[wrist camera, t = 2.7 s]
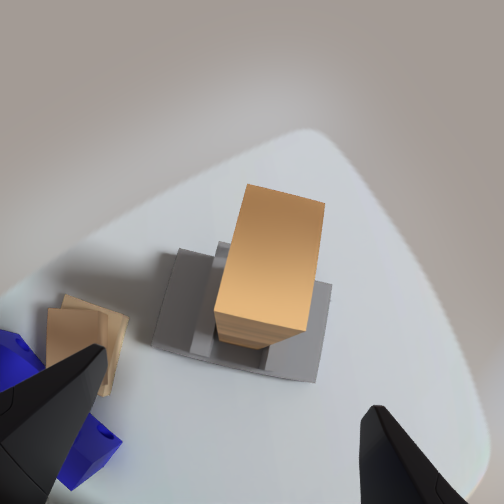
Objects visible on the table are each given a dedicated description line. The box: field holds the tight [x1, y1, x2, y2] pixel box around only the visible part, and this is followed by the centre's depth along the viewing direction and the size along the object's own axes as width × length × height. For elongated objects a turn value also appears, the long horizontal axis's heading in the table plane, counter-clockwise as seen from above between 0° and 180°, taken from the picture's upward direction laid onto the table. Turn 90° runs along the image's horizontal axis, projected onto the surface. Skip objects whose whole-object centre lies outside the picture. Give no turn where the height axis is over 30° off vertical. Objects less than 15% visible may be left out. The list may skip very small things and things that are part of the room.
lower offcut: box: [61, 294, 129, 397], centre depth 19 cm, size 6×5×2 cm
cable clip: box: [0, 330, 123, 491], centre depth 15 cm, size 12×4×6 cm, turn 55°
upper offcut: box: [46, 308, 108, 386], centre depth 17 cm, size 5×4×2 cm
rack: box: [151, 241, 332, 383], centre depth 19 cm, size 7×11×4 cm, turn 77°
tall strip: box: [214, 184, 325, 350], centre depth 14 cm, size 4×2×12 cm, turn 167°
